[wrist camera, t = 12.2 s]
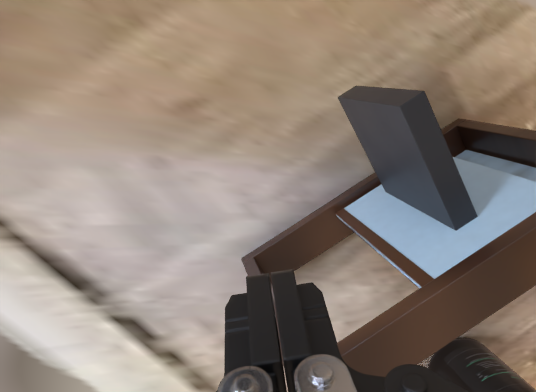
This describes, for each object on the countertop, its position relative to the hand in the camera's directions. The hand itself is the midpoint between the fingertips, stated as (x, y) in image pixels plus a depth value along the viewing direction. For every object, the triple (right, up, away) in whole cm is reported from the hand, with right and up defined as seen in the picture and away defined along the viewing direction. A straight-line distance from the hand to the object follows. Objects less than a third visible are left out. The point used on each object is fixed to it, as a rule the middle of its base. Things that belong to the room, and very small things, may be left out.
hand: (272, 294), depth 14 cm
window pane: (+7, +8, +21) cm, 23 cm away
